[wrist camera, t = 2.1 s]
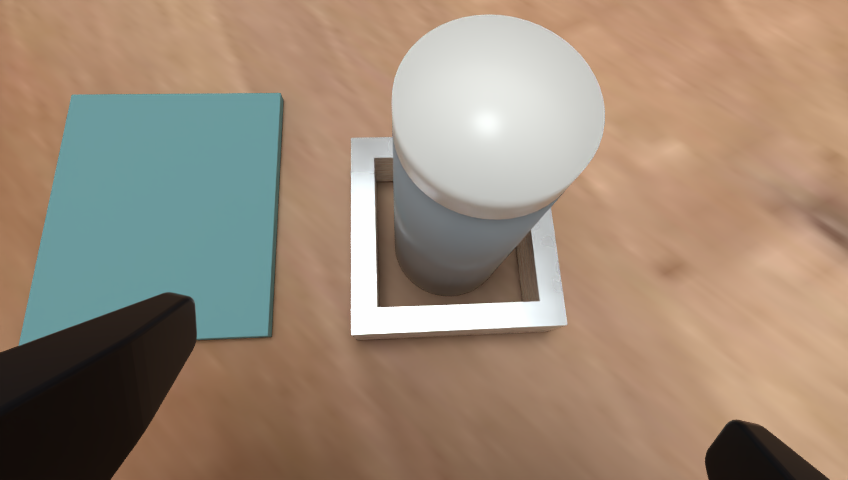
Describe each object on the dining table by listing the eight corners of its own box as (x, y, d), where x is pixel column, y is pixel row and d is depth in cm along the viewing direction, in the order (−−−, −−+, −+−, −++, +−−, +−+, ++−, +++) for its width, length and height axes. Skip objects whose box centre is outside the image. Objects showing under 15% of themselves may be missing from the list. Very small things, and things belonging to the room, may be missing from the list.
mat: (271, 336, 20) (267, 335, 19) (29, 347, 19) (18, 346, 18) (283, 100, 23) (280, 93, 23) (80, 102, 23) (71, 94, 22)
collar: (547, 331, 20) (567, 324, 18) (356, 340, 20) (351, 334, 18) (525, 160, 23) (540, 135, 21) (356, 163, 22) (350, 137, 20)
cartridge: (504, 293, 21) (622, 197, 10) (396, 298, 21) (395, 203, 10) (494, 194, 22) (587, 15, 11) (393, 196, 22) (388, 14, 11)
